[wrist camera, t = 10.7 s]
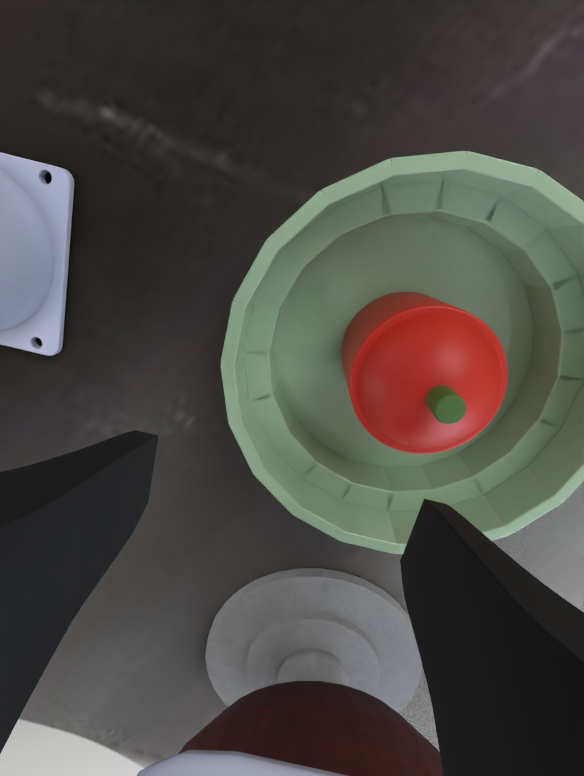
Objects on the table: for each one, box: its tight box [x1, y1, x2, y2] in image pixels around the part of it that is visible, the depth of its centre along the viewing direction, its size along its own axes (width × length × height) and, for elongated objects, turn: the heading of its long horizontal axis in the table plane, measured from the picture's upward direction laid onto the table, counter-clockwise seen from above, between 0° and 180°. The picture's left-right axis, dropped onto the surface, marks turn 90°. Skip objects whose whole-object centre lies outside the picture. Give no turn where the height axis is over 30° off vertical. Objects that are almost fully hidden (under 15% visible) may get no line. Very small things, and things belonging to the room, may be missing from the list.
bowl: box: [220, 151, 584, 554], centre depth 17 cm, size 14×14×5 cm
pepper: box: [341, 292, 508, 454], centre depth 16 cm, size 5×5×7 cm
